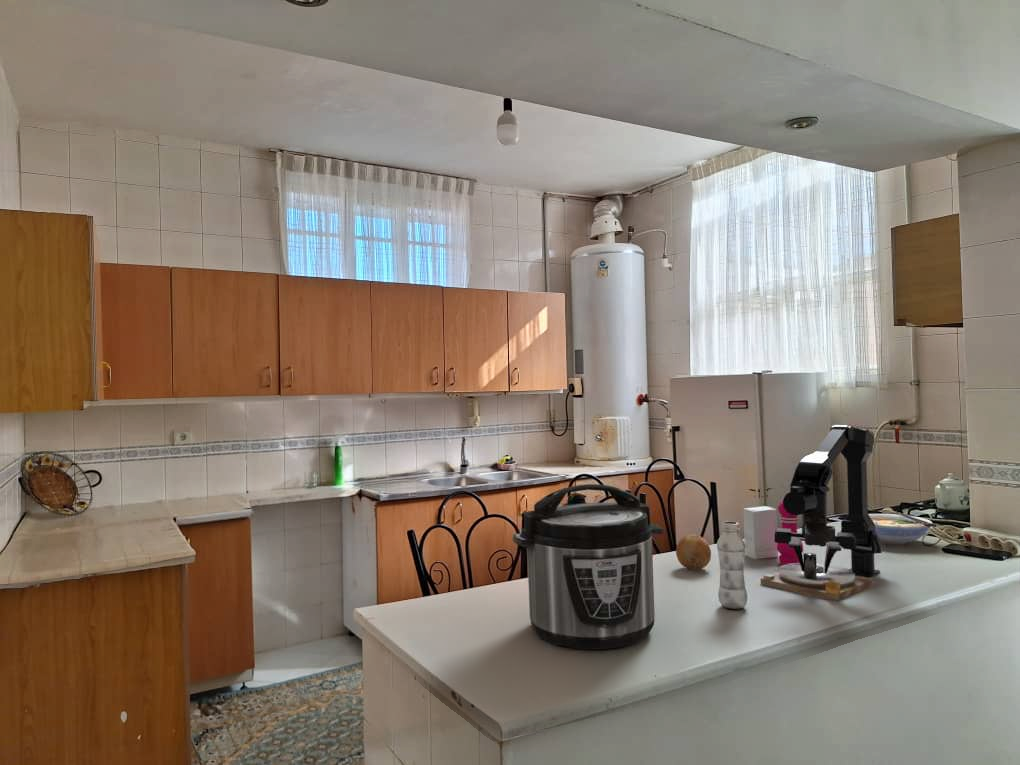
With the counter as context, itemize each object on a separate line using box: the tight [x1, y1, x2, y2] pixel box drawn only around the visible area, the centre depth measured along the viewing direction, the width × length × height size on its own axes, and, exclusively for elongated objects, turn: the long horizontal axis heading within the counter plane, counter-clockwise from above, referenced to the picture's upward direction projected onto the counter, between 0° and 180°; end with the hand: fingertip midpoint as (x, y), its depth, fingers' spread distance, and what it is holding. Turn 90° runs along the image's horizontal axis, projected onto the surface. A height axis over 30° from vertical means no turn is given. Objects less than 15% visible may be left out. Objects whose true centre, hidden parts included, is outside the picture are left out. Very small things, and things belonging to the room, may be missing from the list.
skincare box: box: [742, 505, 779, 560], centre depth 210 cm, size 8×6×15 cm
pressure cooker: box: [512, 483, 664, 650], centre depth 149 cm, size 30×28×32 cm
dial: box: [778, 552, 856, 588], centre depth 179 cm, size 18×18×8 cm
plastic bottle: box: [716, 520, 748, 610], centre depth 162 cm, size 6×7×20 cm
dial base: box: [760, 571, 874, 602], centre depth 179 cm, size 20×20×4 cm
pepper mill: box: [777, 500, 804, 565], centre depth 202 cm, size 7×7×20 cm
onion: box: [675, 533, 712, 571], centre depth 197 cm, size 10×10×10 cm
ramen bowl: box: [868, 511, 937, 546], centre depth 225 cm, size 25×23×8 cm
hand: (814, 572), depth 173 cm, fingers open, 5 cm apart
